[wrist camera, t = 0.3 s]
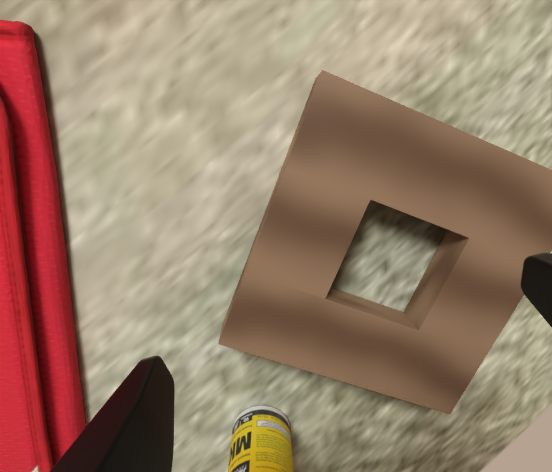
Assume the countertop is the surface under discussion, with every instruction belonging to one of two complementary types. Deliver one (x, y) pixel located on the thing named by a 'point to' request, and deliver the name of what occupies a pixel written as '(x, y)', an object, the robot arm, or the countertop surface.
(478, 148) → the socket board
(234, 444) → the supplement bottle
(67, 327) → the red folded cloth
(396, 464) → the countertop surface
